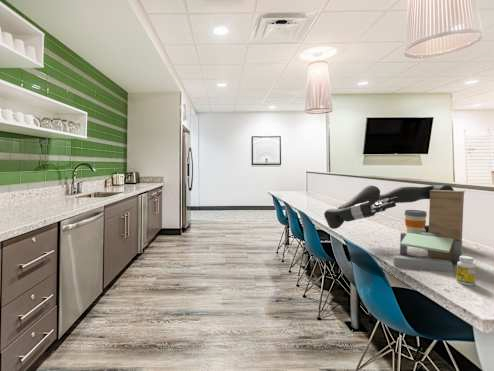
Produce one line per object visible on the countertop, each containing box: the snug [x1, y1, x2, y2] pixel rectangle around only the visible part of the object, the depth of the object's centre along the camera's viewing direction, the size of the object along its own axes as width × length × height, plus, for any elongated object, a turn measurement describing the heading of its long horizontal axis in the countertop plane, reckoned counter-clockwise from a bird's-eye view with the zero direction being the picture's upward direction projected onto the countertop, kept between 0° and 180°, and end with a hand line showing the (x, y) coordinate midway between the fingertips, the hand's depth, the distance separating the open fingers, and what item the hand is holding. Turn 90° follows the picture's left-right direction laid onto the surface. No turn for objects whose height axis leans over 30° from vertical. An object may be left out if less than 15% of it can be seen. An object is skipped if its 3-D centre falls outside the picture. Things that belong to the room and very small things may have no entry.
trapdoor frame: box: [399, 232, 463, 266], centre depth 132 cm, size 3×24×10 cm, turn 47°
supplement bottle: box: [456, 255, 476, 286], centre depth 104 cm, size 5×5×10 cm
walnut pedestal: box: [427, 190, 465, 261], centre depth 133 cm, size 8×12×32 cm
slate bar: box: [392, 255, 453, 273], centre depth 121 cm, size 4×21×4 cm
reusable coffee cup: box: [404, 209, 428, 234], centre depth 186 cm, size 13×13×15 cm
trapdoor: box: [401, 232, 453, 253], centre depth 127 cm, size 14×18×1 cm
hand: (396, 201), depth 131 cm, fingers open, 8 cm apart
